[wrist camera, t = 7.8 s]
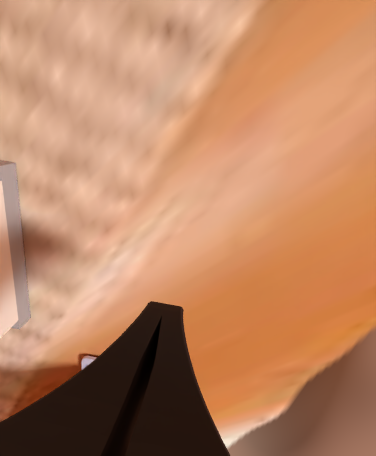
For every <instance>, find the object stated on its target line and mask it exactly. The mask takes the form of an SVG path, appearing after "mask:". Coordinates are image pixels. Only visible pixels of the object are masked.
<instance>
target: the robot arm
mask: <svg viewBox="0 0 376 456" xmlns="http://www.w3.org/2000/svg"><path fill="white" fill-rule="evenodd" d="M81 368H82V370H81V371H80V372H79V373H77V374H76V375H75V376H73V377H72V378H70V379H69V380H68V381H66V382H65V383H64V384H62V385H61V386H59V387H58V388H56V389H55V390H53V391H52V392H50V393H49V394H47V395H46V396H44V397H42V398H41V399H39V400H38V401H36V402H34V403H33V404H31V405H30V406H28V407H26V408H25V409H23V410H21V411H20V412H18V413H16V414H15V415H13V416H11V417H9V418H7V419H5V420H4V421H2V422H0V456H230V454H229V452H228V450H227V448H226V446H225V444H224V443H223V441H222V439H221V437H220V434H219V432H218V430H217V428H216V426H215V424H214V422H213V420H212V417H211V415H210V413H209V411H208V409H207V406H206V404H205V401H204V399H203V396H202V394H201V391H200V388H199V385H198V383H197V380H196V377H195V374H194V370H193V367H192V363H191V360H190V356H189V352H188V348H187V343H186V338H185V332H184V325H183V308H182V307H180V306H174V305H169V304H163V303H158V302H152V301H151V302H150V303H148V305H147V306H146V307H145V309H144V310H143V311H142V313H141V314H140V315H139V316H138V317H137V319H136V320H135V321H134V322H133V323H132V324H131V325H130V326H129V327H128V329H127V330H126V331H125V332H124V333H123V334H122V335H121V336H120V337H119V338H118V339H117V340H116V341H115V342H114V343H113V344H112V345H111V346H109V347H108V348H107V349H106V350H105V351H104V352H103V353H102V354H101V355H100V356H98V357H92V356H84V357H83V359H82V361H81Z"/></svg>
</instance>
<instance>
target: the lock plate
mask: <svg viewBox="0 0 376 456" xmlns="http://www.w3.org/2000/svg"><path fill="white" fill-rule="evenodd" d="M30 318H31V317H30V307H29V297H28V286H27V276H26V266H25V256H24V245H23V235H22V225H21V215H20V204H19V194H18V184H17V174H16V164H15V163H13V162H7V161H1V160H0V338H1V337H2V336H3V335H4V334H5V333H6V332H7V331H8V330H9V329H10V328H15V329H20V328H21V327H22V326H23V325H24V324H25V323H26V322H27V321H28V320H29V319H30Z"/></svg>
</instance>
